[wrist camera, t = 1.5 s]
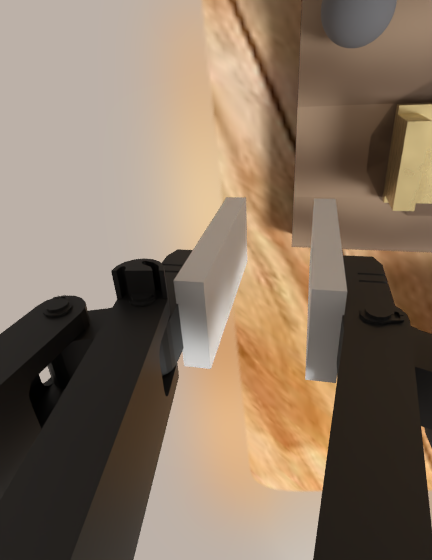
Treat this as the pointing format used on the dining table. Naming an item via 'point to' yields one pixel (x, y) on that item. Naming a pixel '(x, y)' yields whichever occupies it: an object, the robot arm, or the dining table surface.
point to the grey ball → (356, 20)
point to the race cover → (410, 158)
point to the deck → (359, 127)
